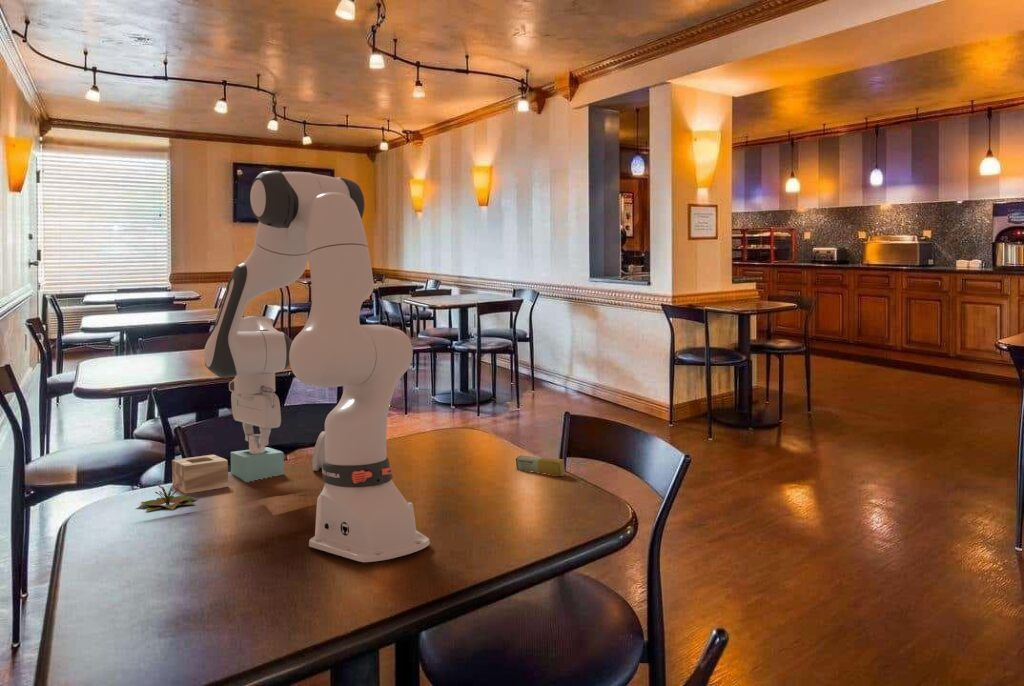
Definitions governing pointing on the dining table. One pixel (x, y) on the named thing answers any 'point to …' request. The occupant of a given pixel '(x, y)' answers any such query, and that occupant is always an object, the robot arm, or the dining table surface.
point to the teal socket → (257, 464)
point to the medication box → (541, 465)
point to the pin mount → (200, 473)
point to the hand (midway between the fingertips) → (256, 443)
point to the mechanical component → (319, 452)
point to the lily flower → (167, 500)
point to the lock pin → (255, 445)
